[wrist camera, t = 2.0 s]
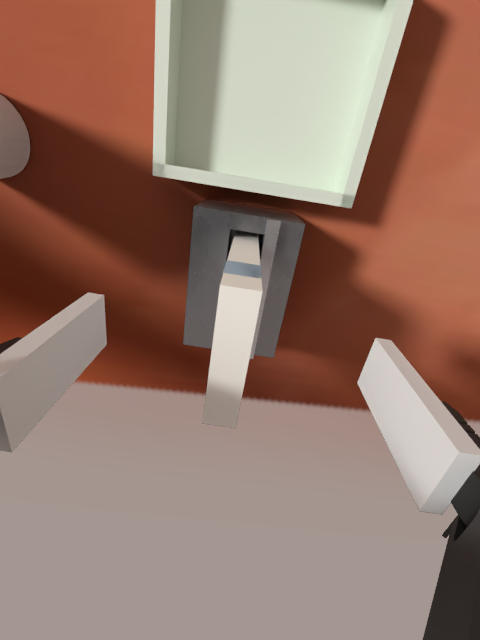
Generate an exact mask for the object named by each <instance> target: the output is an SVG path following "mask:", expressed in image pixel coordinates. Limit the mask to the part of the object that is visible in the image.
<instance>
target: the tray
mask: <svg viewBox="0 0 480 640" xmlns="http://www.w3.org/2000/svg"><path fill="white" fill-rule="evenodd" d="M412 4H413V0H156V24H155V78H154V132H153V176H159V177H165V178H171V179H177V180H183V181H189V182H195V183H201V184H207V185H213V186H219V187H225V188H231V189H237V190H243V191H249V192H255V193H261V194H267V195H273V196H279V197H285V198H291V199H297V200H303V201H309V202H315V203H321V204H327V205H333V206H339V207H345V208H352V205H353V202H354V198H355V195H356V192H357V188H358V185H359V182H360V178H361V175H362V172H363V168H364V165H365V161H366V158H367V155H368V151H369V148H370V145H371V141H372V138H373V135H374V131H375V128H376V125H377V121H378V118H379V114H380V111H381V108H382V104H383V101H384V98H385V94H386V91H387V88H388V84H389V81H390V78H391V74H392V71H393V67H394V64H395V61H396V57H397V54H398V51H399V47H400V44H401V41H402V37H403V34H404V31H405V27H406V24H407V20H408V17H409V14H410V10H411V7H412Z"/></svg>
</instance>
